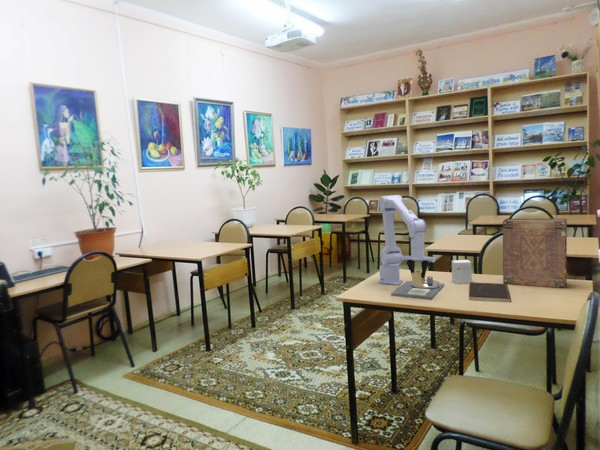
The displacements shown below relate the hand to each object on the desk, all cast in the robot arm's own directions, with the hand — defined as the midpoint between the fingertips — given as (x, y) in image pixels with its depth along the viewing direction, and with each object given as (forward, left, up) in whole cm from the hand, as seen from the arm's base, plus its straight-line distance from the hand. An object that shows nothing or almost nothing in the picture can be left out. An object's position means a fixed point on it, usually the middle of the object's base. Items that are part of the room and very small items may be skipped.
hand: (418, 277), depth 190 cm
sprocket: (0, +12, -7) cm, 14 cm away
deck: (-2, +7, -8) cm, 11 cm away
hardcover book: (+27, +12, -9) cm, 31 cm away
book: (+44, +35, -8) cm, 57 cm away
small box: (+13, +28, -8) cm, 32 cm away
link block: (0, 0, -2) cm, 2 cm away
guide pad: (0, 0, -7) cm, 7 cm away
